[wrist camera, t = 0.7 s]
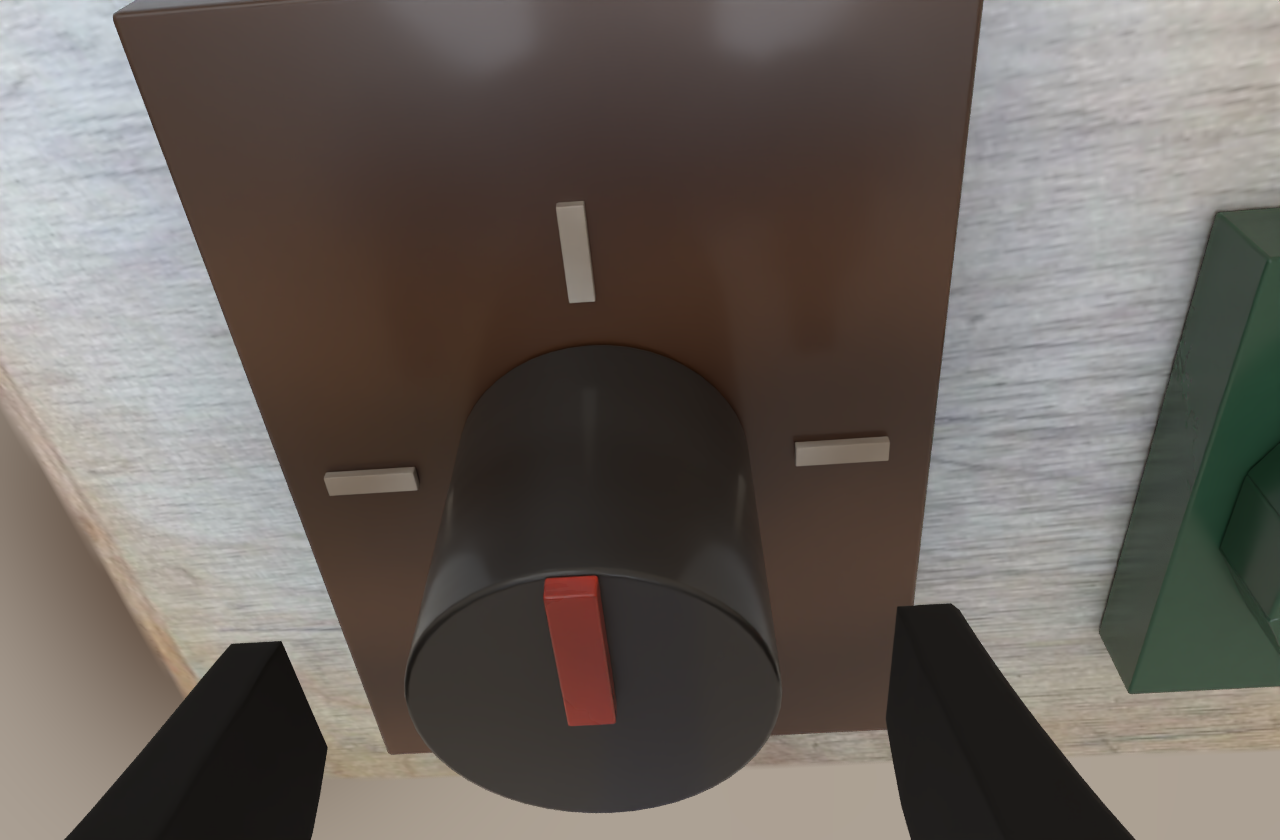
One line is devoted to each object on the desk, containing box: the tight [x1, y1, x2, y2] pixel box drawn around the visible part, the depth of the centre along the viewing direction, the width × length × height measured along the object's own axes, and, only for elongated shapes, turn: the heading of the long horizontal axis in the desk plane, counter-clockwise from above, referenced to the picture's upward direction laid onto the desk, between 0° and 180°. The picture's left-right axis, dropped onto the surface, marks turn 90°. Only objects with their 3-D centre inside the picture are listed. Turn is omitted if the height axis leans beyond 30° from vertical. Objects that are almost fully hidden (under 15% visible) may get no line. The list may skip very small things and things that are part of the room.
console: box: [113, 0, 983, 755], centre depth 16 cm, size 14×10×3 cm
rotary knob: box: [404, 345, 782, 813], centre depth 13 cm, size 4×4×5 cm
